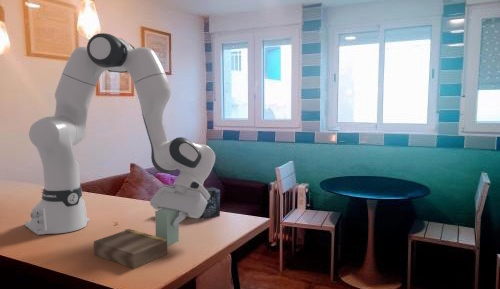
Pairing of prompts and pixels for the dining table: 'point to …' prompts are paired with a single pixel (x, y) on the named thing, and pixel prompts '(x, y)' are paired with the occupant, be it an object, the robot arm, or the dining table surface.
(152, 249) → the block
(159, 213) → the block
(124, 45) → the robot arm
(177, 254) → the dining table surface
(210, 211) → the box
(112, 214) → the dining table surface
